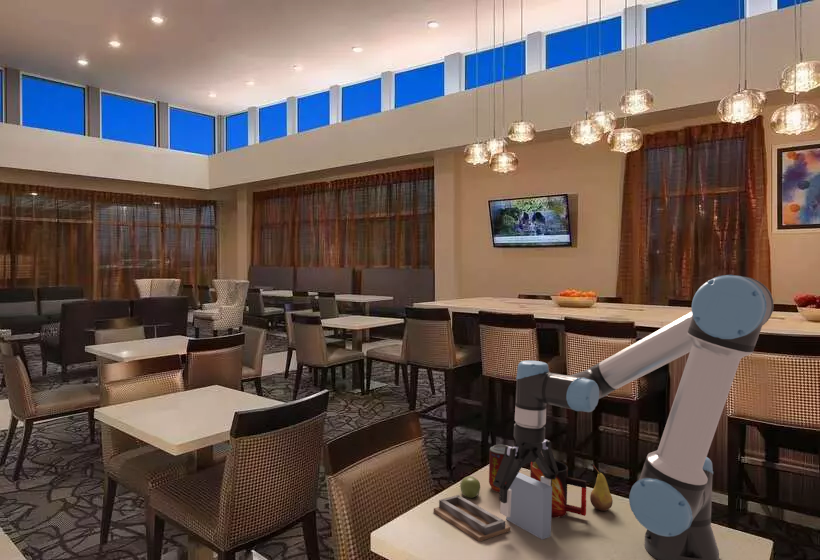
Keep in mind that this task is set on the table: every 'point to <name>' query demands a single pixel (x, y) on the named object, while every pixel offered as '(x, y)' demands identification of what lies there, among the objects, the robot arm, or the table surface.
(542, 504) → the door panel
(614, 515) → the table surface
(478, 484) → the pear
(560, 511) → the mug
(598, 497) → the fruit
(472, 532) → the track base
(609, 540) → the table surface
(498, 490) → the soda can
